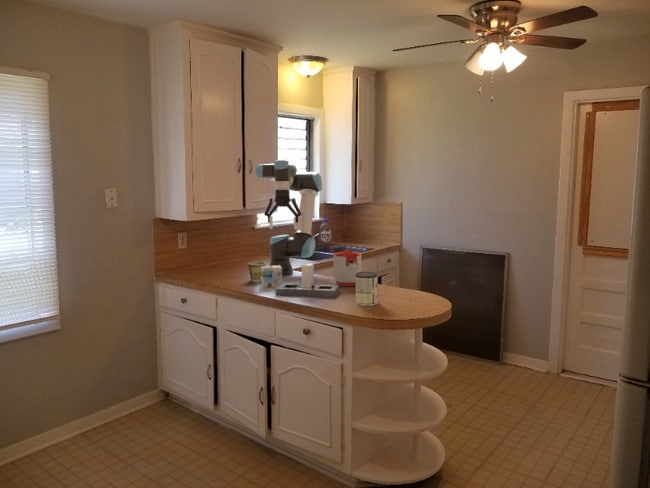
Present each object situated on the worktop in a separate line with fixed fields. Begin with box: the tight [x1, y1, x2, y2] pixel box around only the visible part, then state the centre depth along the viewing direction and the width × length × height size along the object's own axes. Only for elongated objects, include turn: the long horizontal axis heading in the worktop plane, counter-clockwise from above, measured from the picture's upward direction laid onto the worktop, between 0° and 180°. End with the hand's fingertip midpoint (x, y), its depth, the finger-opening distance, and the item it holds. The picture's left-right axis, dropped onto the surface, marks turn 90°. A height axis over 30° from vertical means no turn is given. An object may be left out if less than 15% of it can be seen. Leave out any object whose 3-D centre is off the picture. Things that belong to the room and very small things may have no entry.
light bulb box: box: [260, 265, 283, 289], centre depth 296 cm, size 11×7×11 cm, turn 105°
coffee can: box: [355, 271, 379, 307], centre depth 256 cm, size 10×10×14 cm
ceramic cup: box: [247, 261, 266, 283], centre depth 313 cm, size 13×10×10 cm
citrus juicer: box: [332, 248, 362, 287], centre depth 296 cm, size 16×17×20 cm
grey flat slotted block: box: [275, 282, 341, 299], centre depth 278 cm, size 13×30×4 cm, turn 77°
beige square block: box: [300, 263, 315, 289], centre depth 277 cm, size 5×5×15 cm
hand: (283, 228), depth 295 cm, fingers open, 13 cm apart
